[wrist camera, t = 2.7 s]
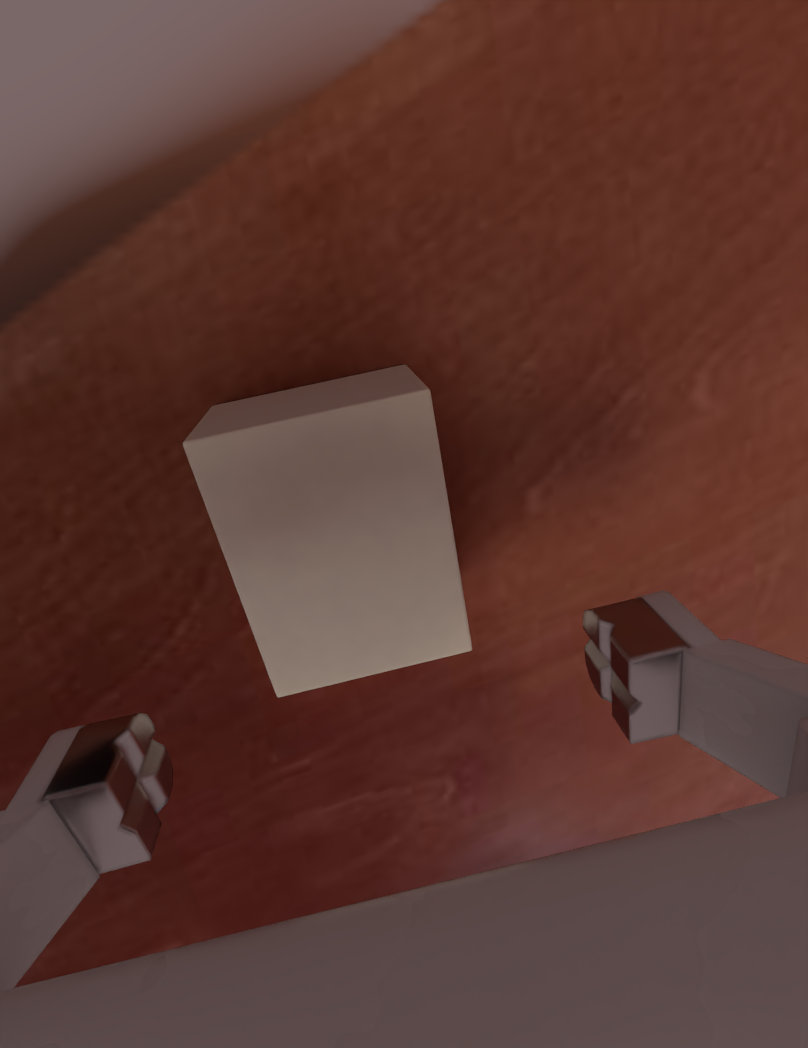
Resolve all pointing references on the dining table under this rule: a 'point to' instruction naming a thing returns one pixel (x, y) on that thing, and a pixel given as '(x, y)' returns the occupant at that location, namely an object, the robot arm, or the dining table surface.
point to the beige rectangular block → (335, 526)
